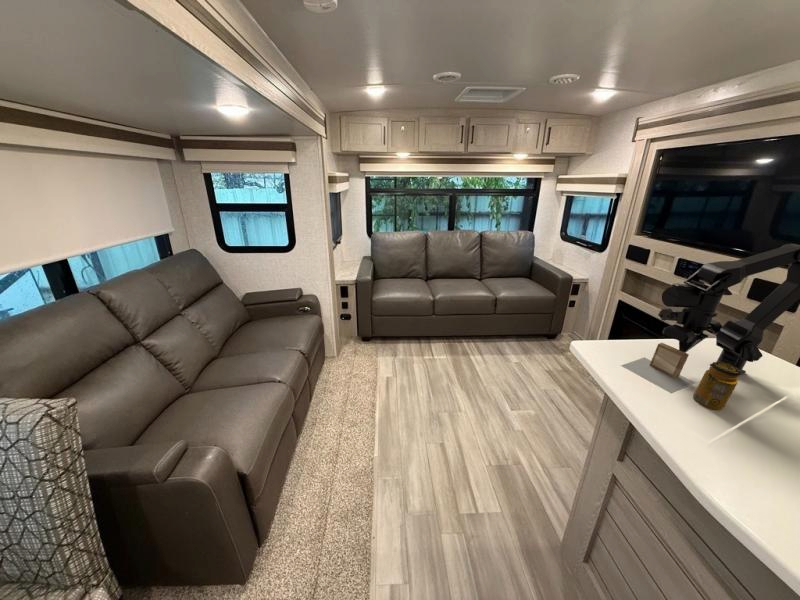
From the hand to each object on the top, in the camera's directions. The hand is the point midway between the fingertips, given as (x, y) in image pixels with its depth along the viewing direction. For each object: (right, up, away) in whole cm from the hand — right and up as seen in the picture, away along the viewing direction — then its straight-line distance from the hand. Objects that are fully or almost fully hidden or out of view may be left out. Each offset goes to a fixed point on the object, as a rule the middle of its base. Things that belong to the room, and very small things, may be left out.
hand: (681, 352), depth 95 cm
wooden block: (-6, -6, 0) cm, 8 cm away
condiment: (-6, -12, -13) cm, 19 cm away
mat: (-9, -6, -1) cm, 11 cm away
